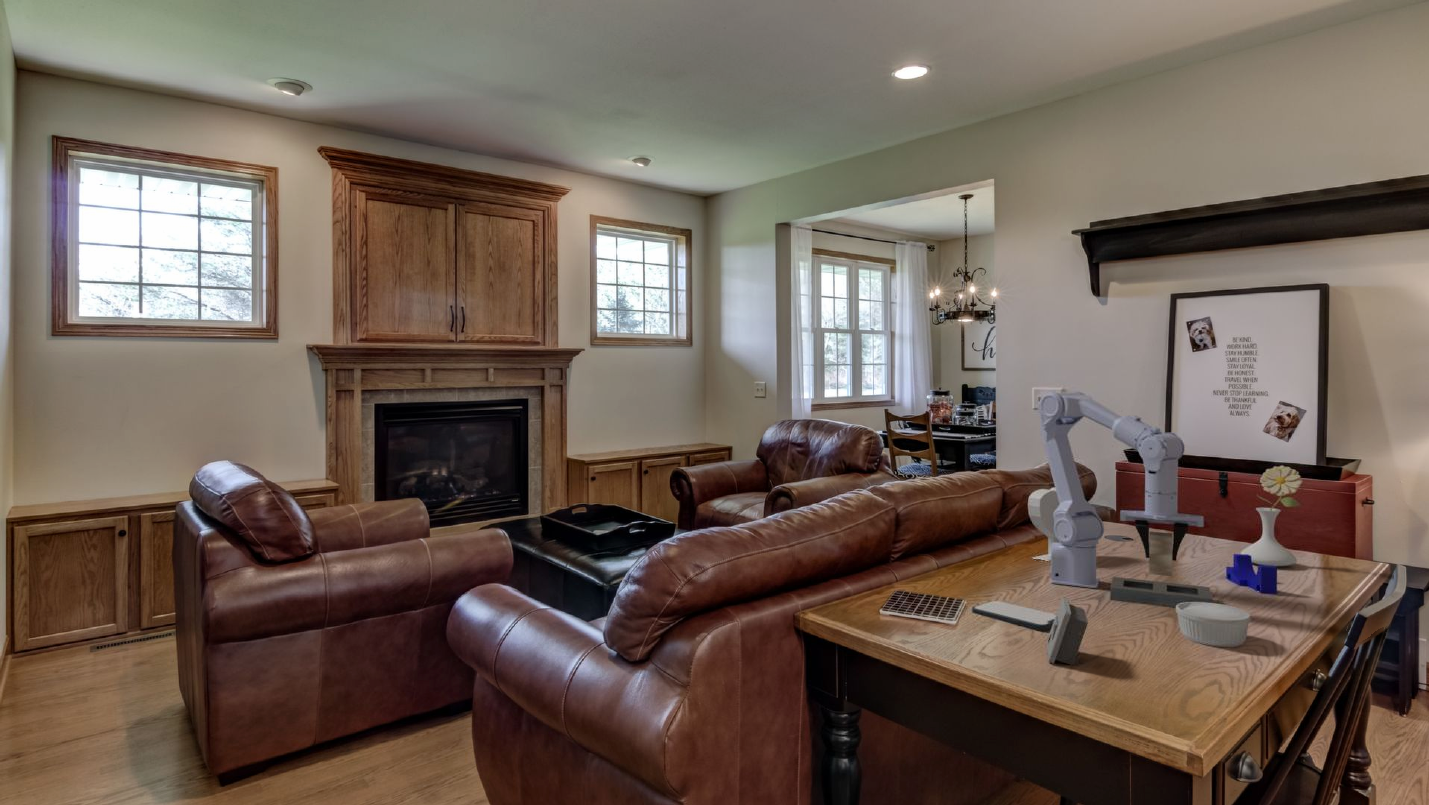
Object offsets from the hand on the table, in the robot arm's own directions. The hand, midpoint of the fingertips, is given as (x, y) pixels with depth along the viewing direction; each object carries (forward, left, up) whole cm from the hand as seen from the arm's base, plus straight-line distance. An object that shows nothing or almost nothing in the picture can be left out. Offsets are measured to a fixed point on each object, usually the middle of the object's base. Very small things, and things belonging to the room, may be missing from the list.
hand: (1160, 558), depth 153 cm
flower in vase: (+24, +51, -10) cm, 58 cm away
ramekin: (+8, -18, -10) cm, 22 cm away
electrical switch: (-14, -39, -10) cm, 43 cm away
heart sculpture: (-24, +35, -10) cm, 44 cm away
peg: (0, 0, -3) cm, 3 cm away
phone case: (-24, -21, -11) cm, 34 cm away
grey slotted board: (0, +5, -10) cm, 11 cm away
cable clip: (+17, +26, -10) cm, 33 cm away
